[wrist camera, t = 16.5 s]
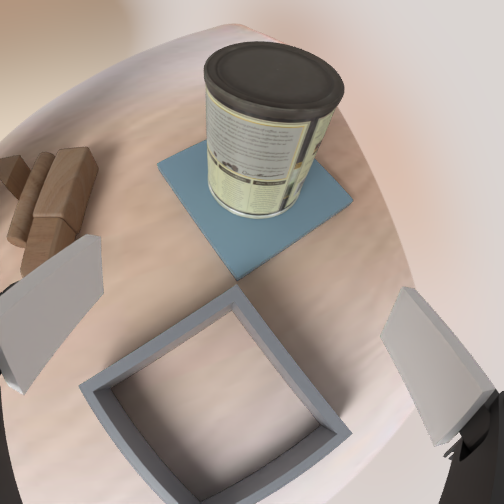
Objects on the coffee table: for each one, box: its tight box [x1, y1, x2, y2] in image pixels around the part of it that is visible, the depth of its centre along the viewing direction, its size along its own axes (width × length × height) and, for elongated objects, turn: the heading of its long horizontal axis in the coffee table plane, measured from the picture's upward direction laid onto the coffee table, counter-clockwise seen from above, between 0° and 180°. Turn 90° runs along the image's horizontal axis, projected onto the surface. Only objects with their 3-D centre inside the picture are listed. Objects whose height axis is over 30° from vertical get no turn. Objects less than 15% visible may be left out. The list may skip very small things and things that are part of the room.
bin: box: [79, 284, 353, 504], centre depth 20 cm, size 16×16×4 cm
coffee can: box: [204, 41, 344, 219], centre depth 24 cm, size 10×10×14 cm
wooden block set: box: [0, 147, 98, 278], centre depth 24 cm, size 17×6×18 cm
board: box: [157, 140, 353, 281], centre depth 31 cm, size 16×16×1 cm
